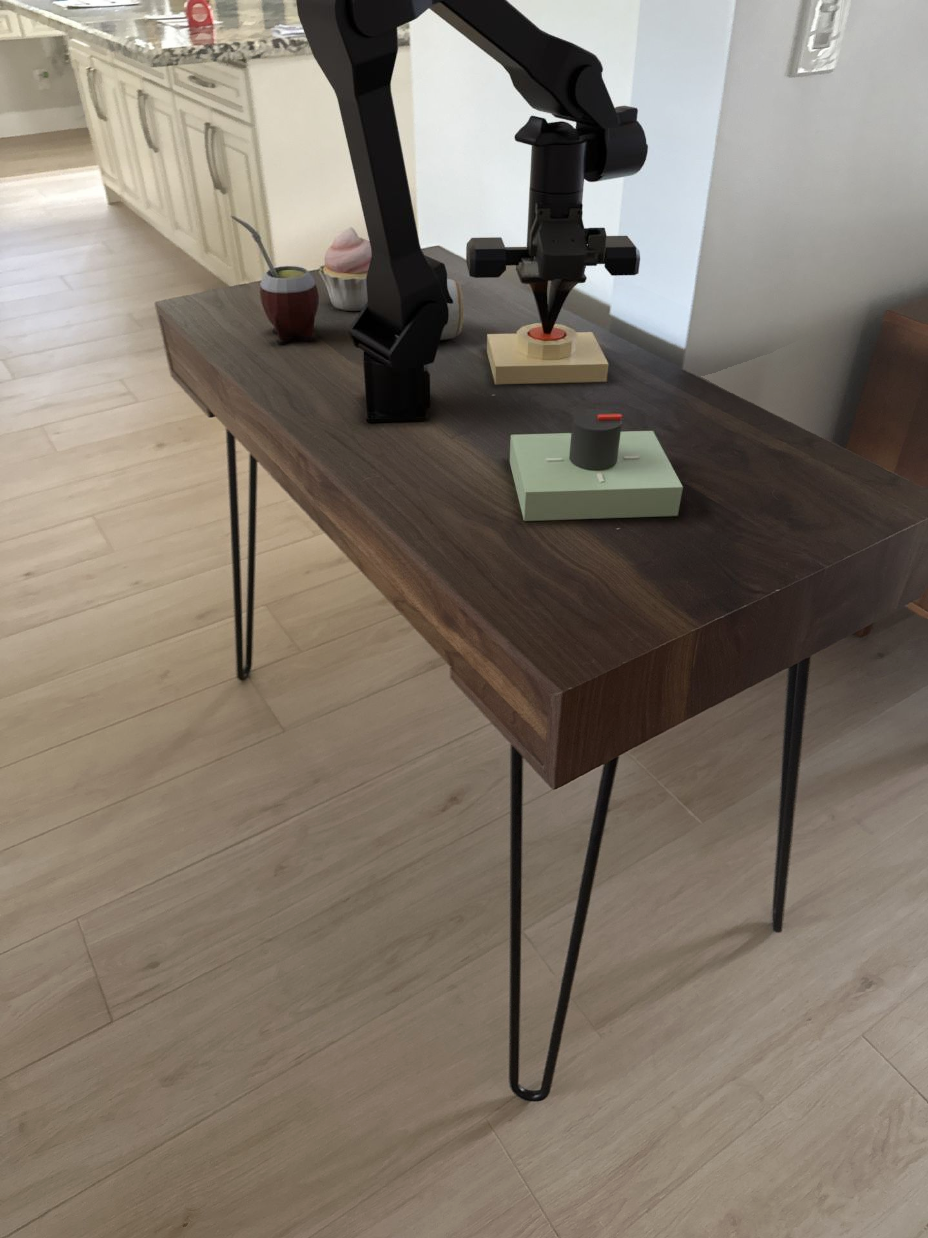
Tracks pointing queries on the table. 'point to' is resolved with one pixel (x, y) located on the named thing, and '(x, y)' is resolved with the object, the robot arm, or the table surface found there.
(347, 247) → the cupcake
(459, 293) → the ceramic mug
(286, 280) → the mate gourd
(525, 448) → the panel
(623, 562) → the table surface
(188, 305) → the table surface
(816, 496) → the table surface
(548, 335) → the power button
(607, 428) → the timer knob
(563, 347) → the beige button base
